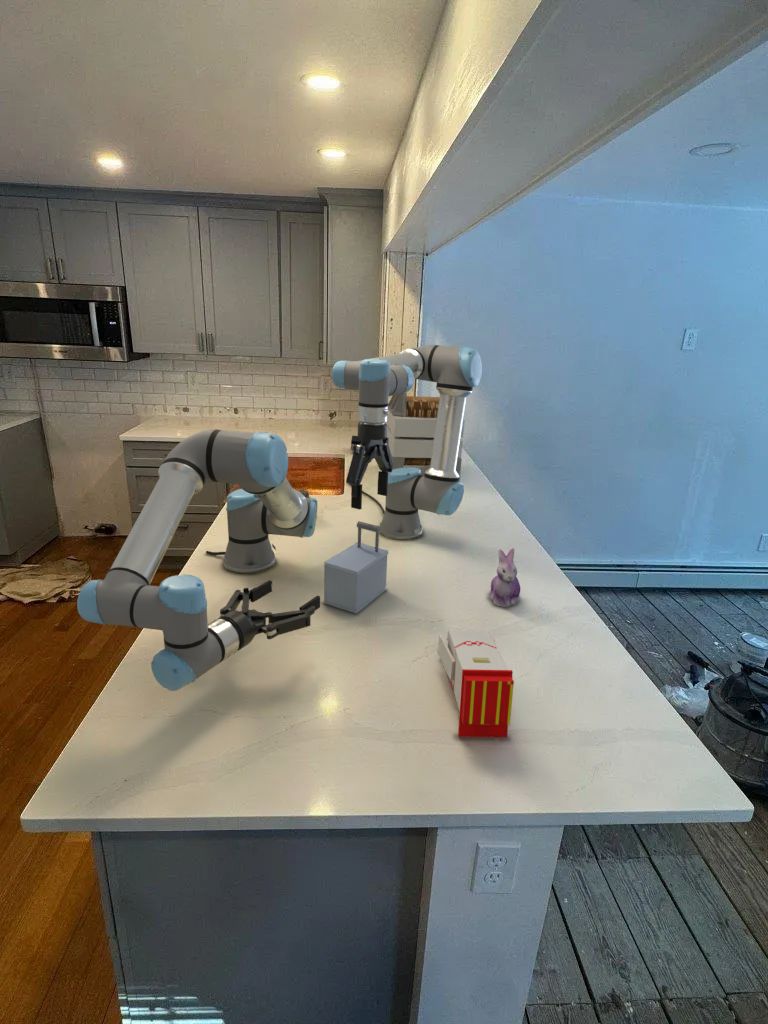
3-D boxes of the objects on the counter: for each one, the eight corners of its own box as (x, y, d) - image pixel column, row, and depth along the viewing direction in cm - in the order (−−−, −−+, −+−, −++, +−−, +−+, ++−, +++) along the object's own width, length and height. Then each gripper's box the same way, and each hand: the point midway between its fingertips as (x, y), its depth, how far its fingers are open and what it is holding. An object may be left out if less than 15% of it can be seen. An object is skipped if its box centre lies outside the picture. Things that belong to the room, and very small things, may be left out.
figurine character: (362, 457, 305) (363, 447, 318) (362, 443, 301) (363, 434, 315) (350, 456, 304) (351, 447, 318) (350, 443, 301) (351, 434, 314)
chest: (355, 580, 164) (356, 546, 161) (385, 590, 160) (387, 554, 156) (323, 603, 151) (324, 565, 148) (356, 613, 147) (357, 575, 143)
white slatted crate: (382, 463, 289) (386, 382, 275) (445, 464, 293) (451, 384, 279) (390, 482, 257) (394, 392, 243) (460, 483, 261) (468, 394, 247)
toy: (488, 613, 130) (523, 677, 101) (484, 667, 133) (517, 744, 104) (435, 612, 130) (455, 676, 101) (432, 666, 133) (451, 743, 103)
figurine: (502, 611, 151) (509, 560, 146) (479, 594, 159) (485, 545, 154) (530, 604, 155) (537, 554, 150) (506, 588, 163) (512, 540, 158)
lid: (357, 545, 161) (357, 517, 158) (388, 553, 156) (389, 525, 153) (324, 565, 147) (324, 535, 145) (357, 575, 143) (358, 544, 140)
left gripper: (182, 633, 118) (252, 593, 135) (277, 672, 106) (339, 623, 124) (180, 601, 115) (251, 565, 133) (276, 637, 104) (340, 592, 122)
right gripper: (359, 432, 132) (357, 517, 139) (408, 417, 153) (403, 492, 160) (332, 427, 135) (331, 511, 143) (383, 414, 156) (380, 487, 163)
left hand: (294, 593), depth 128 cm, fingers open, 13 cm apart
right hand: (369, 501), depth 151 cm, fingers open, 13 cm apart
